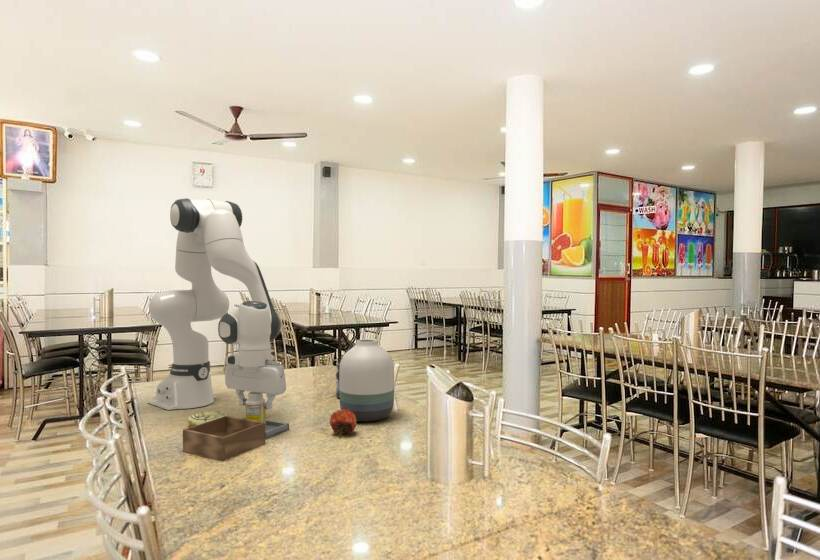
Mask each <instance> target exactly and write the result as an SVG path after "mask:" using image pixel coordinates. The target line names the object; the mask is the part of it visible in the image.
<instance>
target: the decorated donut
mask: <svg viewBox="0 0 820 560" xmlns="http://www.w3.org/2000/svg"><path fill="white" fill-rule="evenodd" d="M224 416H227V414H226V413H225V412H223V411H219V410H202V411H198V412H197V413H195V412H194V414H191V415H189V416H188V418H187V423H188V425H189V428H190V427H193V426H196V425H199V424H202V423H205V422H208V421H211V420H214V419H218V418H221V417H224Z"/></svg>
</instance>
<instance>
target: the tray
mask: <svg viewBox="0 0 820 560" xmlns="http://www.w3.org/2000/svg"><path fill="white" fill-rule="evenodd" d="M242 419H246V416H245V417H242ZM287 430H288V431H290V423H287V422H283V421H277V420H271V419H266V427H265V439H266V440H268V439H271V438H272V437H275V436H278V435H280V434H283V433H285V432H288V431H287ZM282 432H283V433H282ZM270 437H271V438H270Z"/></svg>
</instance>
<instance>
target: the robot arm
mask: <svg viewBox="0 0 820 560" xmlns="http://www.w3.org/2000/svg"><path fill="white" fill-rule="evenodd" d="M169 211H170V212H169V213H170V214H169V219H170V220H169V221H170V223H171V226H172V227H173V228H174V229H175V230H176V231H177V232H178V233H177V239H176V247H175V265H174V266H175V267H174V269H175V272H176V274H177V275H178V277H180V278H182V279H184V280H185V281H187V282H190V283H191V289H179V290H178V289H176V290H175V289H174V290H166V291H160V292H157V293H155V294H154V295H153V296H152V297H151V299H150V301H149V305H148V310H149V314H150V316H151V318H152V319H153V320H154V321H156V323H158V324H160V325H161V326H163V328H164V329H165V330H166V331H167V332H168V334H169V336H170V340H171V342H172V355H173V362H172V364H168V365H167V366H169V367H168V369H170V370H169V374H168V375H167V376H166V377H165V378H164V379H163V380H162V381H160V382H159V383H158V384H157V386H156V389H155V397H152V398H150V399H148V400H147V401H148V404H150V405H153V406H154V407H155V406H156V407H158V408H161V409H164V410H168V411H172V410H184V409H193V408H201V407H205V406H209V405H211V404H213V403H214V402H215V394H214V393H213V385H212V377H211V375H210V371H211V361H210V360H209V340H208V338H207V337H206V336H205V335H204V334H202V333H200V332H198V331H195V330H193V328H192V326H191V325H192V322H193V323H194V322H209V321H215V320H218V319H219V322H218V327H217V330H218V336H219V338H220V340H222V342H223V343H225V344H227V345H233V346H234V345H239V346H238V347H239V348H238V352H236V353H234V354H231V355H227V356H226V357H225V358H224V359H225V361H224V362H225V364H226V366H225V369H224V371H225V372H224V375H225V376H224V384H225V386H226V388H227V389H231V390H235V394H236V397H237V399H238V404H239V406H245V402H246V400H247V399H248V397H246V395H245V392H257V393H263V394H264V395H266V399H267V400H266V403H264V409H266V410H268V411H269V410H272V409H273V402H274V400H275V398H276V396H279V395H283V394H284V393H286V391H287V382H286V373H285V367H284V365H283V364H282V363H281V361H278V360H272V346H271V343H272V342H273V341H274V340H275V339H276V338H277V336H278V335H279V333H281V329H282V328H281V327H282V325H281V324H282V323H281V320H280V317H279V314H278V313H277V311H276V309H275V307H274V305H273V303H272V300H271V297H270V293H269V291H268V288H267V285H266V283H265V280H264V276H263V274H262V272H261V269H260V266H259V264H258V263H257V262H256V261H254V260H253V259H252V258H251V256H250V254H249V253H248V251H247V250H246V248H245V244H244V239H243V234H242V231H241V226H242V223H243V212H242V209H241V208H240V205H238V204H237V203H235V202H232V201H228V200H225V201H223V200H218V199H214V198H204V199H203V198H197V199H196V198H195V199H194V198H187V197H186V198H180V199H176V200H175V201H174V202H173V203H172V204H171V207H170V210H169ZM212 268H213V269H214V270H215V271H217V272H218V273H220V274H222V275H225V276H228V277H231V278H233V279H236V280H237V281H239V282H241V283H242V284H244V286H245V287H246V288H247V290H248V293H249V296H250V299H251V300H248V301H243V302H242V303H240V305H239V307H238V308H237V309H235V310H233V311H229V309H230V300H229V297H228V296H227V294H226V293H225V292H224V291H223V290H222V289H220V287H219V286H217V284H216V283H215V280H214V278H213V274H212Z"/></svg>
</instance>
